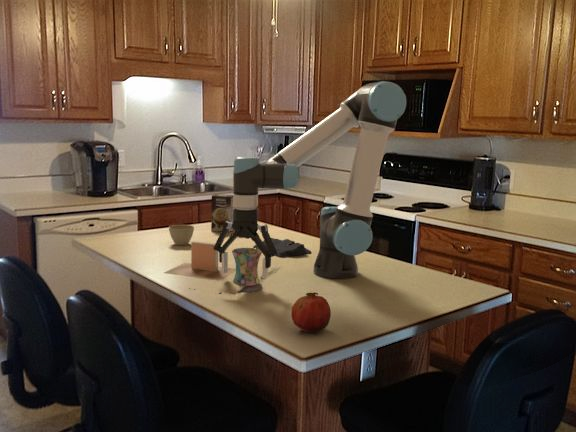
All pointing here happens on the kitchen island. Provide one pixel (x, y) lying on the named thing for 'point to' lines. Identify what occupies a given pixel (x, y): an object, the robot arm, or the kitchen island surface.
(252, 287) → the coaster
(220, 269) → the board
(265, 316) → the kitchen island surface
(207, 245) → the tile
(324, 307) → the fruit
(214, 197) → the coffee box
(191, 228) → the flower pot
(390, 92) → the robot arm
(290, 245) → the dark slate chunk
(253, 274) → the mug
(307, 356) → the kitchen island surface
